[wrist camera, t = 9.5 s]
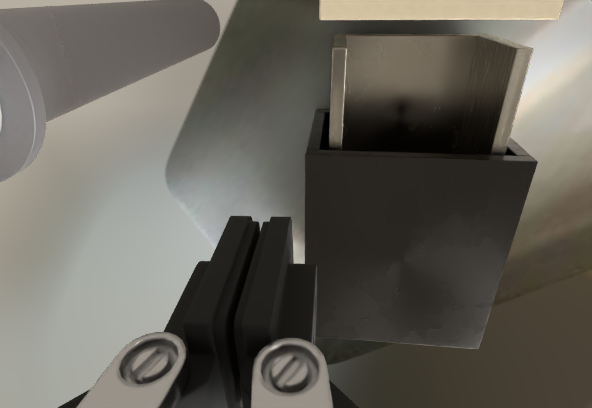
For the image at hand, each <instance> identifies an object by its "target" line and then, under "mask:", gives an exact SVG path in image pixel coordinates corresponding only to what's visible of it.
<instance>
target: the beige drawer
mask: <svg viewBox="0 0 592 408" xmlns="http://www.w3.org/2000/svg"><path fill="white" fill-rule="evenodd" d="M563 2H564V0H319V19H320V20H557V19H558V18H559V16H560V13H561V9H562V6H563ZM532 52H533V48H530V47H526V46H523V45H520V44H517V43H514V42H511V41H507V40H504V39H501V38H498V37H495V36H491V35H488V34H335V36H334V42H333V47H332V66H331V95H330V124H329V150H339V151H372V152H404V153H437V154H470V155H502V156H505V152H506V148H507V145H508V141H509V137H510V134H511V130H512V126H513V122H514V119H515V115H516V111H517V108H518V104H519V100H520V97H521V93H522V89H523V86H524V82H525V78H526V74H527V71H528V67H529V63H530V60H531V56H532Z"/></svg>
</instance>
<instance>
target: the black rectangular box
mask: <svg viewBox="0 0 592 408" xmlns="http://www.w3.org/2000/svg"><path fill="white" fill-rule="evenodd" d="M329 124H330V109H316V110H315V115H314V119H313V123H312V128H311V132H310V136H309V141H308V145H307V150H306V153H305V264H317V314H316V334H315V336H317V337H330V338H343V339H356V340H369V341H381V342H394V343H407V344H421V345H433V346H446V347H459V348H472V349H478V348H479V345H480V342H481V339H482V336H483V332H484V330H485V326H486V323H487V320H488V317H489V313H490V310H491V308H492V304H493V301H494V298H495V295H496V292H497V289H498V286H499V282H500V279H501V276H502V273H503V270H504V267H505V263H506V260H507V257H508V254H509V251H510V248H511V245H512V241H513V238H514V235H515V232H516V229H517V226H518V223H519V219H520V216H521V213H522V210H523V207H524V204H525V201H526V197H527V194H528V191H529V188H530V185H531V182H532V178H533V175H534V172H535V169H536V166H537V163H538V162H537V161H536V160H535V159H534V158H533V157H532V156H530V155H529V154H528V153H527V152H526V151H525V150H524V149H523V148H521V147H520V146H519V145H518V144H517V143H516V142H515V141H514V140H513V139H511V138H510V137H509V141H508V145H507V148H506V152H505V156H502V155H470V154H437V153H404V152H372V151H339V150H329Z"/></svg>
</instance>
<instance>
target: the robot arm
mask: <svg viewBox="0 0 592 408" xmlns="http://www.w3.org/2000/svg"><path fill="white" fill-rule="evenodd" d="M1 126H2V114H1V107H0V131H1ZM316 314H317V264H293V240H292V220H291V217H271V219H270V222H263V225H262V228H261V231H260V228H259V222H256V221H252V217H251V216H231V217H230V218H229V221H228V223H227V225H226V227H225V229H224V232H223V234H222V236H221V238H220V240H219V243H218V245H217V247H216V249H215V252H214V254H213V256H212V258H211V260H210V261H200V262H199V263H198V264H197V266H196V267H195V270H194V272H193V273H192V275H191V278H190V279H189V282H188V284H187V286H186V288H185V290H184V292H183V294H182V296H181V298H180V300H179V302H178V304H177V306H176V308H175V310H174V312H173V314H172V316H171V318H170V320H169V322H168V324H167V326H166V328H165V330H164V332H155V333H150V334H146V335H144V336H141V337H139V338H136V339H135V340H133V341H132V342H130V343H129V344H127V345H126V346H125V347H124V348H123V349H122V350H121V351H120V352H119V353H118V355H117V356H116V357H115V358H114V359H113V361H112V362H111V363H110V365H109V366H108V367H107V369H106V370H105V371H104V372H103V374H102V375H101V376H100V378H99V379H98V380H97V381H96V383H95V384H94V385H93V387H92V388H91V389H90V390H88V391H86V392H85V393H83V394H81V395H79V396H78V397H76V398H74V399H72V400H70V401H69V402H67V403H65V404H63V405H62V406H60V407H58V408H358V407H357V406H356V405H355V404H354V403H353V402H352V401H351V400H350V399H349V398H348V397H347V396H346V395H345V394H344V393H343V392H341V391H340V390H339V389H338V388H337V387H336V386H335V385H334V384H333V383H332V382H331V381H330V380H329V377H328V371H327V365H326V361H325V358H324V356H323V354H322V353H321V351H320V350H319V349H318V348H317V347H316V346H315V334H316Z"/></svg>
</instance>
